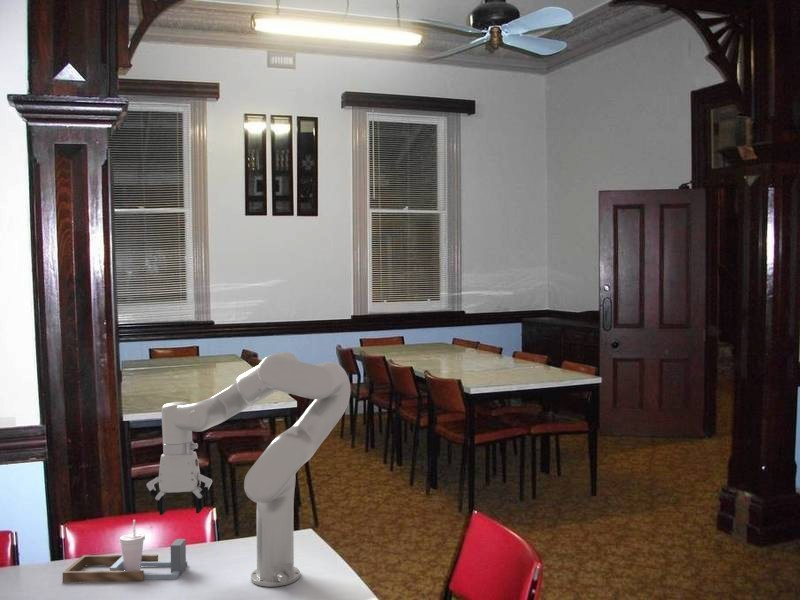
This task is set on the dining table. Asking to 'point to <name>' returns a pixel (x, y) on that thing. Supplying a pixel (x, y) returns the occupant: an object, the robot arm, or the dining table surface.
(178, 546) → the sled
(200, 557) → the dining table surface
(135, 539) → the smoothie
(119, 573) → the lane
